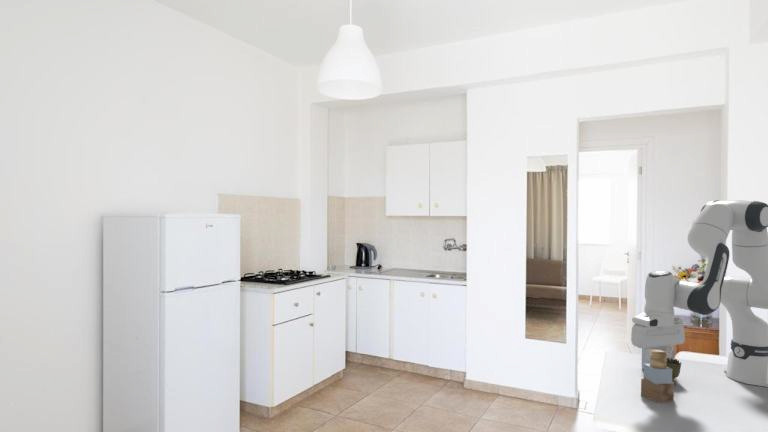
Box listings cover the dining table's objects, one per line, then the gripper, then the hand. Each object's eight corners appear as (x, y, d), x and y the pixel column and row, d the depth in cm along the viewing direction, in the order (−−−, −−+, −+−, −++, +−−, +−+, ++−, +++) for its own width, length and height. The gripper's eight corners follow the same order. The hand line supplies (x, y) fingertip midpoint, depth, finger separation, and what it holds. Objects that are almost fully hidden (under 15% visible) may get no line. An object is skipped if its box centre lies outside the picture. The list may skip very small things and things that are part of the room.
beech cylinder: (657, 363, 163) (657, 349, 163) (670, 367, 158) (670, 353, 158) (646, 364, 161) (646, 350, 161) (658, 369, 156) (658, 354, 156)
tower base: (653, 392, 164) (654, 375, 164) (673, 399, 158) (673, 382, 158) (640, 395, 161) (641, 378, 161) (660, 403, 155) (661, 385, 155)
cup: (684, 385, 171) (684, 364, 171) (662, 383, 173) (662, 362, 173) (675, 378, 179) (676, 357, 178) (654, 376, 180) (655, 356, 180)
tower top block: (658, 377, 163) (658, 363, 163) (672, 383, 157) (672, 368, 157) (643, 378, 162) (643, 363, 162) (656, 384, 156) (656, 369, 156)
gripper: (674, 314, 165) (673, 353, 166) (628, 318, 159) (627, 358, 160) (690, 318, 159) (689, 358, 160) (643, 322, 153) (642, 363, 154)
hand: (658, 358), depth 160 cm, fingers open, 7 cm apart
